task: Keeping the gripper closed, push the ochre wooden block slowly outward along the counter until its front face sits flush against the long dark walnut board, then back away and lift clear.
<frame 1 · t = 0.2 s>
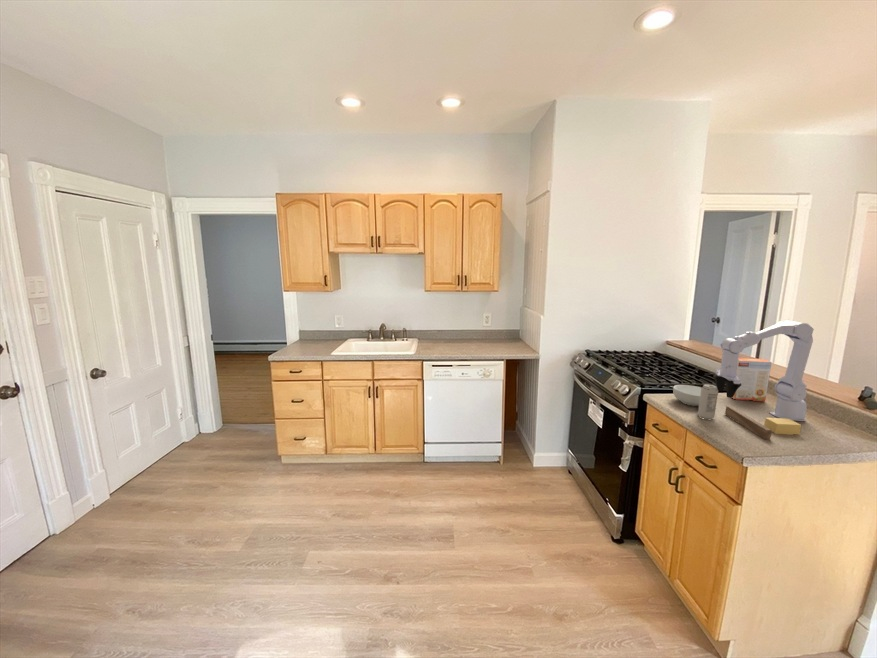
hand: (724, 393, 163), 10 cm above the countertop, tool pointing down, fingers open, 7 cm apart
walnut board: (745, 425, 154), on the countertop
cereal bowl: (691, 403, 178), on the countertop
cracker box: (745, 399, 184), on the countertop
energy drink can: (705, 417, 162), on the countertop
ochre block: (781, 431, 149), on the countertop
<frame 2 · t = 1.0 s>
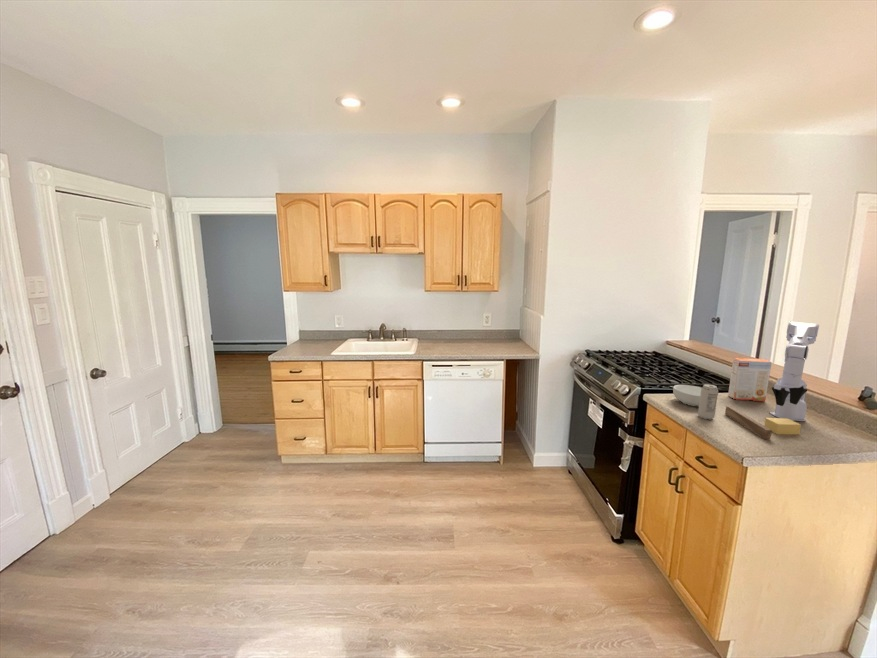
hand: (786, 404, 150), 10 cm above the countertop, tool pointing down, fingers open, 7 cm apart
nothing on the countertop moved.
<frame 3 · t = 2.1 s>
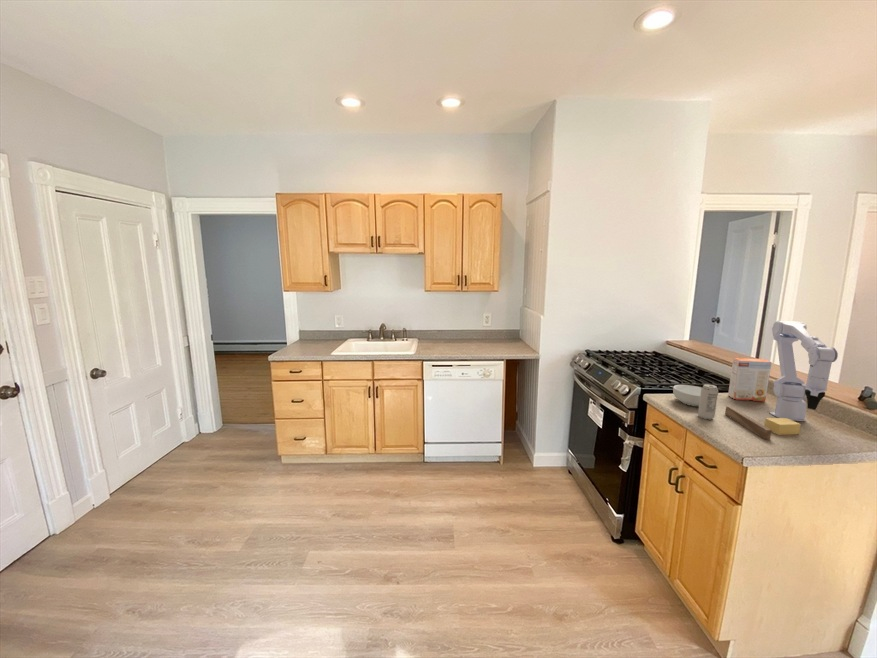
hand: (811, 408, 146), 10 cm above the countertop, tool pointing down, fingers closed
nothing on the countertop moved.
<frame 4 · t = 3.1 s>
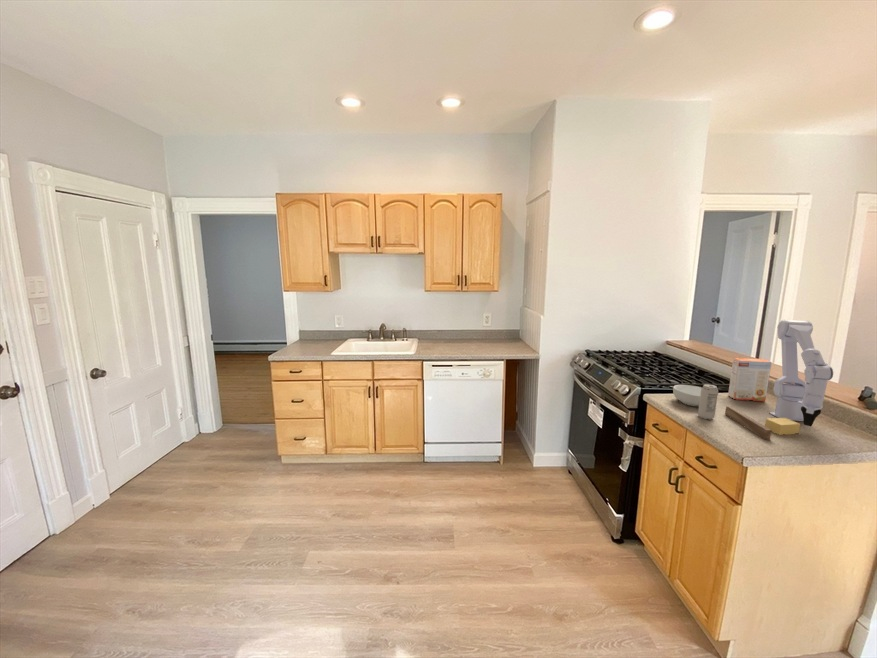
hand: (807, 425, 147), 3 cm above the countertop, tool pointing down, fingers closed
nothing on the countertop moved.
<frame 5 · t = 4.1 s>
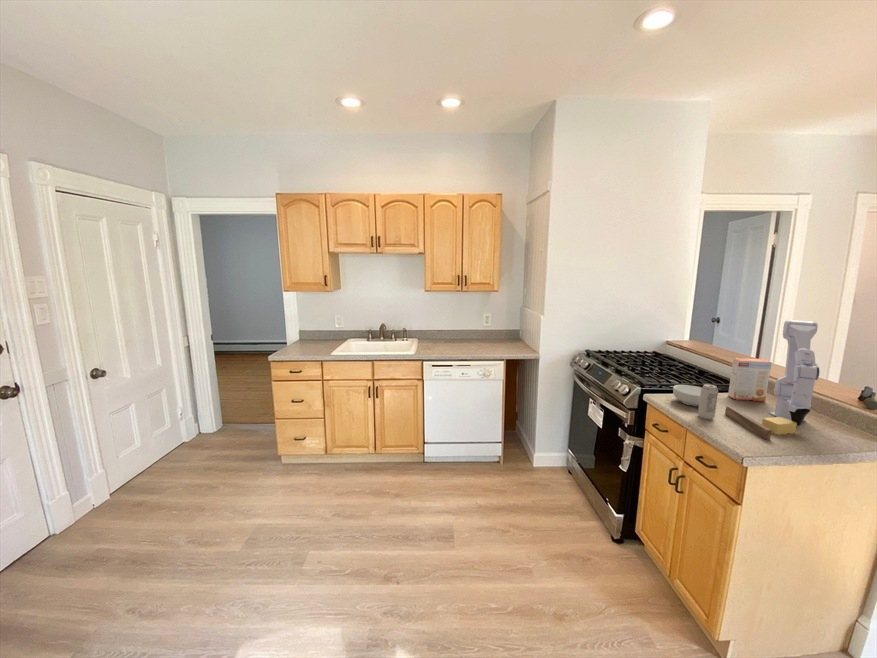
hand: (795, 424, 148), 3 cm above the countertop, tool pointing down, fingers closed
ochre block: (777, 430, 149), on the countertop, touching gripper
everything else where it was.
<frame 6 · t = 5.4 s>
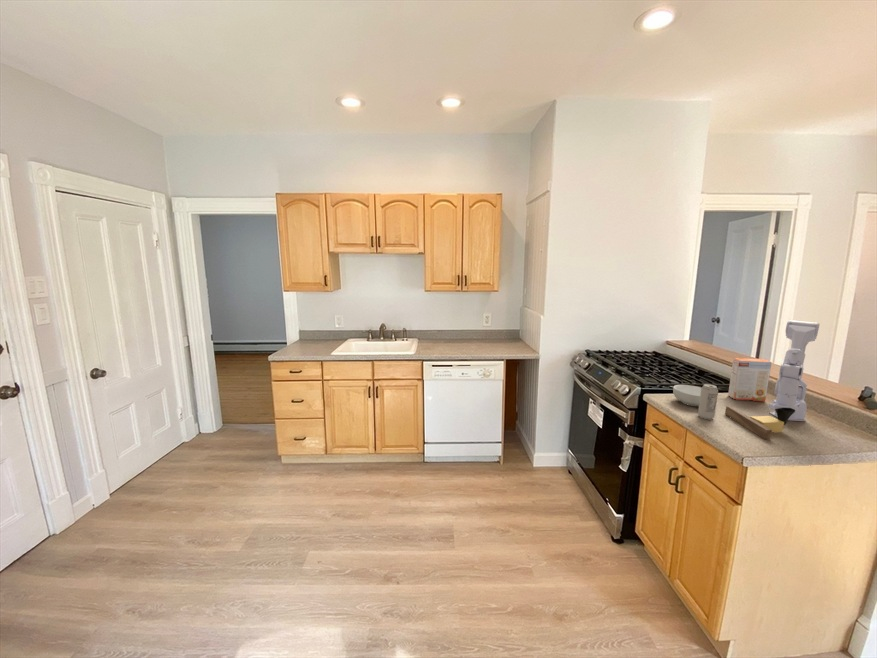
hand: (781, 424, 149), 3 cm above the countertop, tool pointing down, fingers closed, pressing on ochre block
ochre block: (765, 429, 151), on the countertop, touching gripper, walnut board
everything else where it was.
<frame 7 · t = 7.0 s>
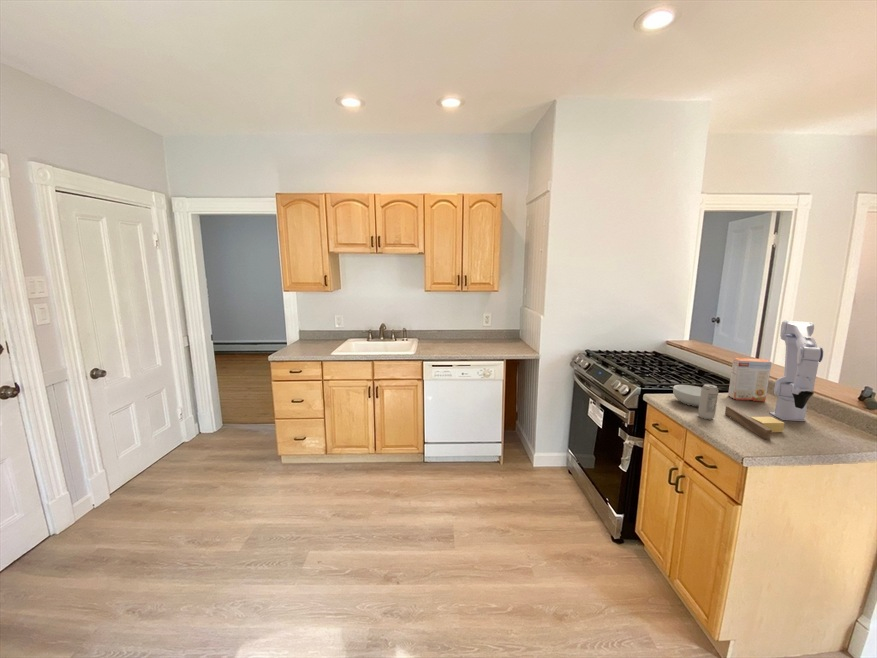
hand: (799, 407, 147), 10 cm above the countertop, tool pointing down, fingers closed
ochre block: (765, 429, 151), on the countertop
everything else where it was.
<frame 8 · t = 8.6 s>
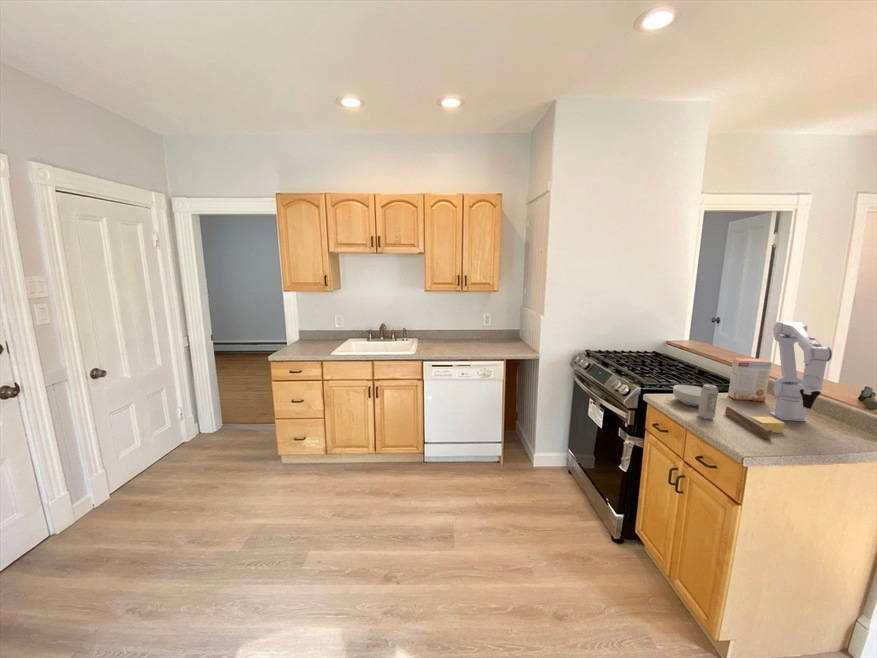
hand: (807, 407, 147), 10 cm above the countertop, tool pointing down, fingers closed
nothing on the countertop moved.
at the end: ochre block inside the target area on the countertop beside the walnut board (2.3 cm from its centre), on the countertop; ochre block tilted 0° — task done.
